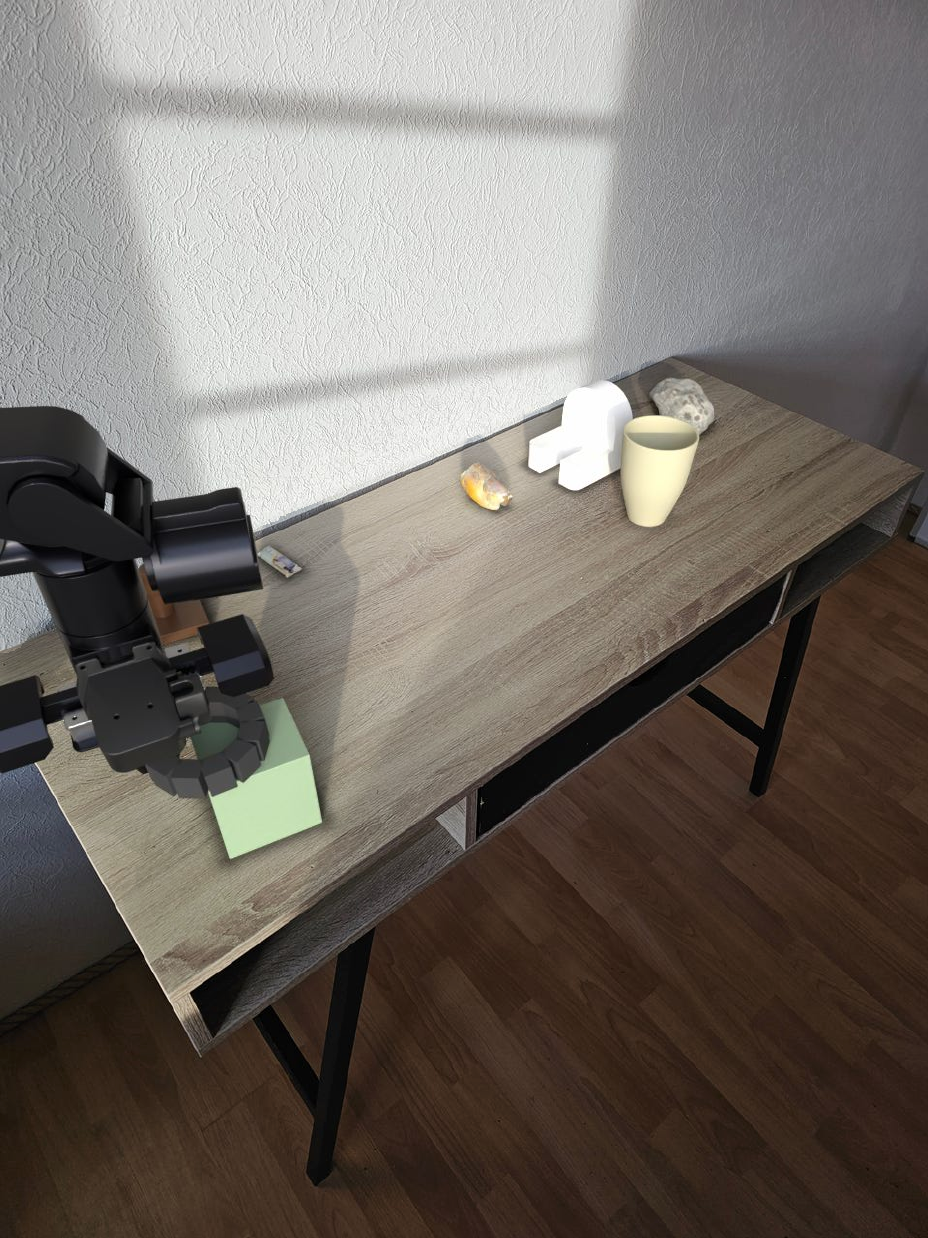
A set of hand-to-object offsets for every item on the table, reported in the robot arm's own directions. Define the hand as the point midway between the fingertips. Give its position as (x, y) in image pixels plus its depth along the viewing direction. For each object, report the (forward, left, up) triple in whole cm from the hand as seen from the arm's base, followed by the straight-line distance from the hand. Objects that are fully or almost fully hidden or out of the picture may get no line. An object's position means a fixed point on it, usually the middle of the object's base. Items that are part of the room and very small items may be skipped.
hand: (159, 764), depth 62 cm
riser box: (+7, 0, -10) cm, 12 cm away
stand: (+4, +29, -10) cm, 31 cm away
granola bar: (+18, +33, -10) cm, 39 cm away
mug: (+64, +23, -10) cm, 69 cm away
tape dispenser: (+66, +38, -10) cm, 77 cm away
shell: (+47, +34, -10) cm, 59 cm away
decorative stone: (+85, +42, -10) cm, 96 cm away
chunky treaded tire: (+4, 0, 0) cm, 4 cm away
